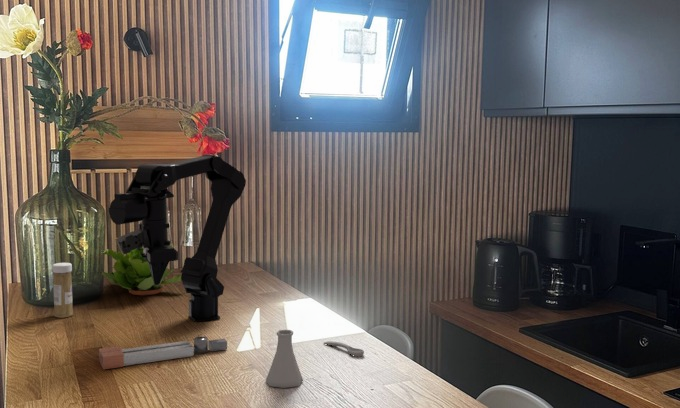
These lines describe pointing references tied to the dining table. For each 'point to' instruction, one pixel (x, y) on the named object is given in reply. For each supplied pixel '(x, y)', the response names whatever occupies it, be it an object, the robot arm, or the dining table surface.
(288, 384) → the flask
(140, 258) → the potted flower
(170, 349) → the tongs fixed
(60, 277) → the sprinkles bottle
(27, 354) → the dining table surface
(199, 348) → the tong arm
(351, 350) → the spoon
